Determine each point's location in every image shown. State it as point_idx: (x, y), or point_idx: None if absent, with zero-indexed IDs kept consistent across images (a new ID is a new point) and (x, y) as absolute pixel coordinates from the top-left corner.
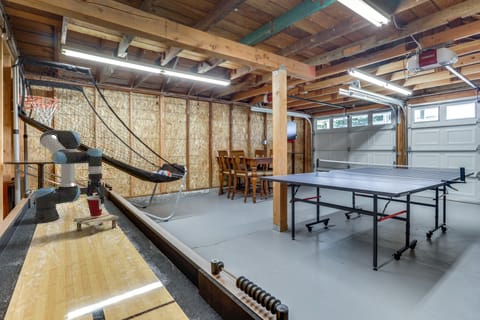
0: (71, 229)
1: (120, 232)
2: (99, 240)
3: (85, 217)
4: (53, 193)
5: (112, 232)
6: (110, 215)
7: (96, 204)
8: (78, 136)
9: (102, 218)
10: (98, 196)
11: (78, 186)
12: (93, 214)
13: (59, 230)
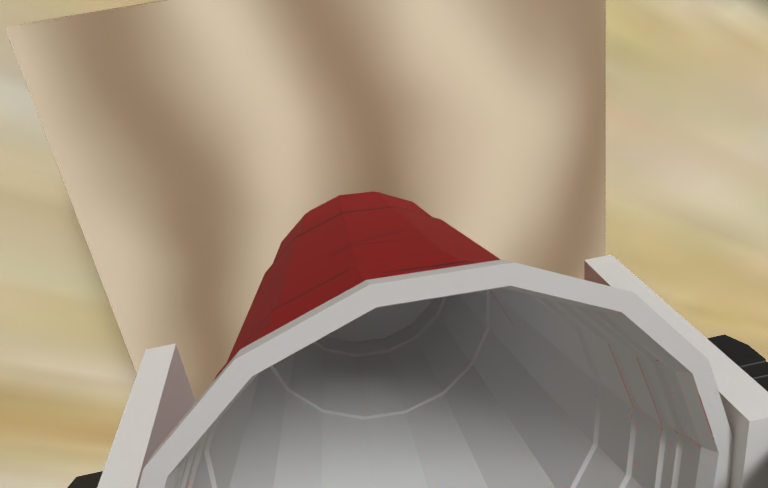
0: (94, 385)
1: (721, 30)
2: (736, 290)
3: (198, 360)
4: None
5: (632, 99)
6: (406, 10)
7: (570, 446)
8: None
9: (497, 201)
10: (210, 426)
11: None
12: (432, 348)
13: (39, 475)
